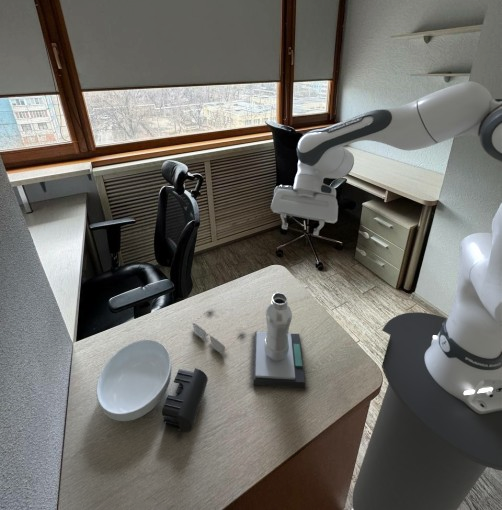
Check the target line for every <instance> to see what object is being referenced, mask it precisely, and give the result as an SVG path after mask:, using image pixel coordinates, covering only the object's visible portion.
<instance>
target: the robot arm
mask: <svg viewBox="0 0 502 510" xmlns="http://www.w3.org/2000/svg"><path fill="white" fill-rule="evenodd" d="M461 136H474V137H478V138H479V143H480V145H481V147H482V149H483V151H484V152H486V154H487V155H489V156H490V157H491V158H493V159H494V160H497V161H498V162H501V163H502V98H494V97H493V96H492V94H491V93H490V91H489V90H488V89H487V88H486V87H485V86H484V85H482V84H481V83H480V82H479V83H478V82H476V81H463V82H459V83H456V84H453V85H450V86H447V87H444V88H441V89H439V90H436V91H433V92H431V93H429V94H426V95H424V96H421V97H420V98H418V99H416V100H413V101H411V102H409V103H406V104H402V105H400V106H395V107H391V108H383V109H382V108H381V109H374V110H370V111H367V112H364V113H362V114H359V115H356V116H353V117H351V118H348V119H345V120H343V121H340V122H338V123H335V124H332V125H329V126H327V127H323V128H318V129H312V130H310V131H308V132H306V133H304V134H303V135H302V136H301V137H300V138H299V140H298V142H297V144H296V155H297V159H298V162H297V172H296V174H295V177H294V181H293V182H294V183H293V186H292V185H283V184H280V185H277V186H276V187H275V188H274V189H273V198H272V201H271V204H270V210H271V212H273V213H274V214H279V215H280V216H279V217H280V219H281V222H282V224H281V229H282V230H288V227H289V226H288V225H289V223H288V222H286V221H285V219H286V218H287V216H289V217H290V216H291V217H296V218H301V219H307V220H312V221H318V224H319V225H318V226H317V227H313V233H312V235H313V236H317V237H318V236H319V235H320V230H321V229H322V228H323V227H324V226H325V223H330V224H335V223H337V222H338V215H339V207H338V206H339V205H338V199H337V190H336V188H335V187H333V186H330V185H328V184H326V183H324V179H331V180H332V179H334V180H339V179H343V178H345V177H346V176H348V175H350V172H351V171H352V170H353V168H354V164H355V157H354V155H353V153H352V152H351V151H349V150H348V148H345V146H348V145H351V144H354V143H357V142H362V141H364V142H365V141H371V142H377V143H380V144H384V145H386V146H390V147H392V148H396V149H398V150H401V151H408V152H409V151H416V150H422V149H426V148H429V147H431V146H435V145H438V144H440V143H442V142H445V141H448V140H451V139H453V138H457V137H461ZM458 249H459V263H458V271H457V277H456V278H457V279H456V286H455V287H456V289H455V295H454V299H453V300H454V301H453V303H452V306H451V309H450V310H449V314H448V317H446V318H447V319H446V320H445V321H444V323H443V324H442V328H441V330H440V332H439V334H438V335H437V336H435V335H434V336H433V339H432V342H431V346H430V347H429V348H428V350H427V351H426V353H425V357H424V358H425V364H426V367H427V369H428V371H429V373H430V374H431V376H432V377H433V378H434V380H435V381H436V382H437V383H438V384H439V385H440V386H441V387H442V388H443V389H445V390H446V391H447V392H449V393H450V394H452V395H453V396H455V397H457V398H458V399H460V400H462V401H463V402H465V403H466V404H467V405H468V406H469V407H470V408H471V409H473V410H474V411H475V412H477V413H479V414H486V413H491V412H496V411H501V410H502V202H501V203H500V205H499V207H498V209H497V210H496V213H495V214H494V217H493V218H492V222H491V233H489V232H475V233H471V234H469V235H467V236H465V237H464V238H463V239H462V240H461V241H460V243H459V247H458ZM482 406H483V407H482Z"/></svg>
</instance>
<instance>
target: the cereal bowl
mask: <svg viewBox="0 0 502 510" xmlns="http://www.w3.org/2000/svg"><path fill="white" fill-rule="evenodd" d="M172 368H173V367H172V359H171V355H170V352H169V350H168V348H167V347H166V346H165V345H164V344H163V343H162V342H160V341H157V340H154V339H140V340H139V339H138V340H136V341H132V342H130V343H128V344H126V345H124V346H123V347H121V348H120V349H118V351H116V352H115V353H114V354H112V356H111V357H110V358H109V359H108V360H107V362H106V363H105V364H104V366H103V367H102V370H101V371H100V373H99V376H98V379H97V382H96V388H95V389H96V391H95V392H96V398H97V399H96V400H97V403H98V405H99V407H100V409H101V411H102V412H103V413H104V414H105V416H107V417H108V418H110V419H111V420H114V421H117V422H130V421H134V420H136V419H139V418H141V417H144V415H147V414H148V413H150V412H151V411H152V410H153V409H154V408H155V407H156V406H157V405H158V404H159V403H160V401H161V400H162V399H163V397H164V395H165V394H166V392H167V390H168V388H169V385H170V382H171V378H172V371H173V370H172Z"/></svg>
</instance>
